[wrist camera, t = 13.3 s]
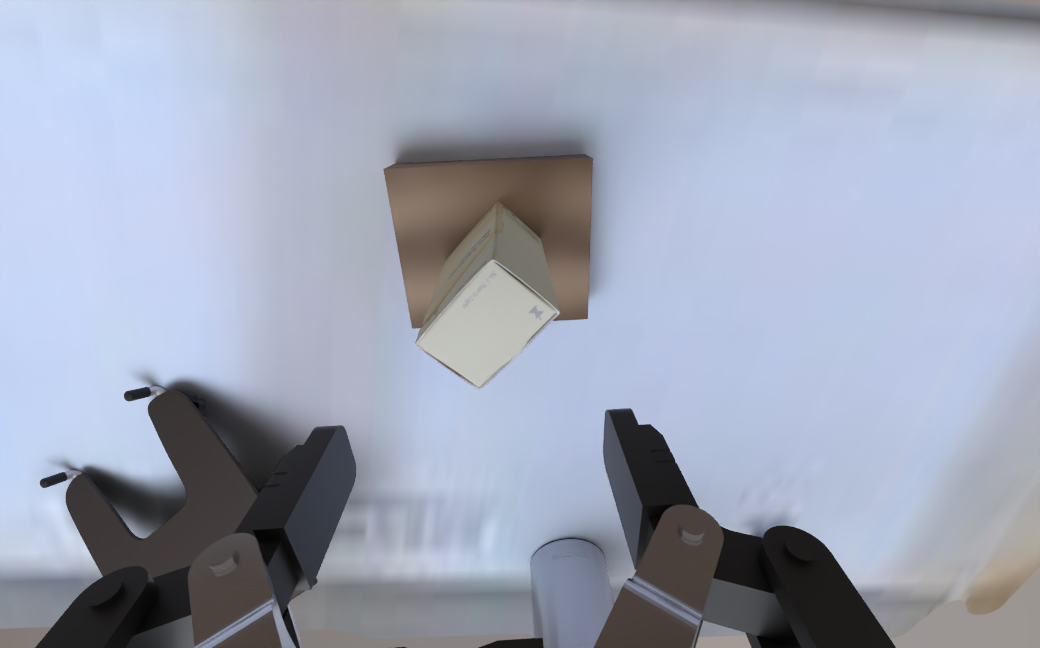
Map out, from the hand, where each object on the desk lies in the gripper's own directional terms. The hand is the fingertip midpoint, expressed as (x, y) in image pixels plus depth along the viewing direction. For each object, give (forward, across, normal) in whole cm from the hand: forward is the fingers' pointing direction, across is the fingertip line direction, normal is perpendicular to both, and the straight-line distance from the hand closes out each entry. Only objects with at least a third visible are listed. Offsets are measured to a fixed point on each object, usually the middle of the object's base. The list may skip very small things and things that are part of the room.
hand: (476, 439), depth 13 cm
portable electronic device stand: (+24, +32, +24) cm, 47 cm away
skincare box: (+20, 0, 0) cm, 20 cm away
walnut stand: (+23, 0, 0) cm, 23 cm away
